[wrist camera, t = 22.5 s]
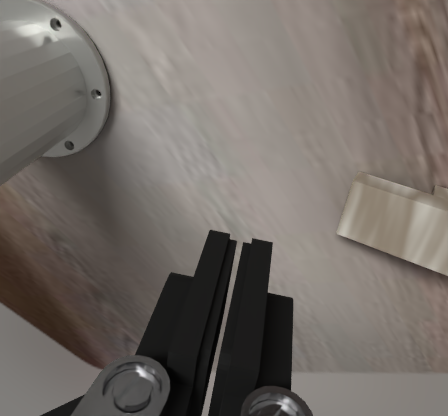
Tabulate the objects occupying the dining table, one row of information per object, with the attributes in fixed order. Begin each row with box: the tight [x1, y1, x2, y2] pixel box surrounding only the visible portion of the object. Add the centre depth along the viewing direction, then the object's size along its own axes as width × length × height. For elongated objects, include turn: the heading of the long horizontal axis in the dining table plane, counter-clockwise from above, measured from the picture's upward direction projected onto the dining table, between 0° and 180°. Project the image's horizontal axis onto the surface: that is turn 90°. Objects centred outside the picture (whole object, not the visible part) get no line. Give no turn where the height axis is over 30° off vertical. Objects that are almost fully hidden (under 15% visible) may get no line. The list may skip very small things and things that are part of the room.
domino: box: [336, 172, 448, 276], centre depth 32 cm, size 2×5×10 cm
